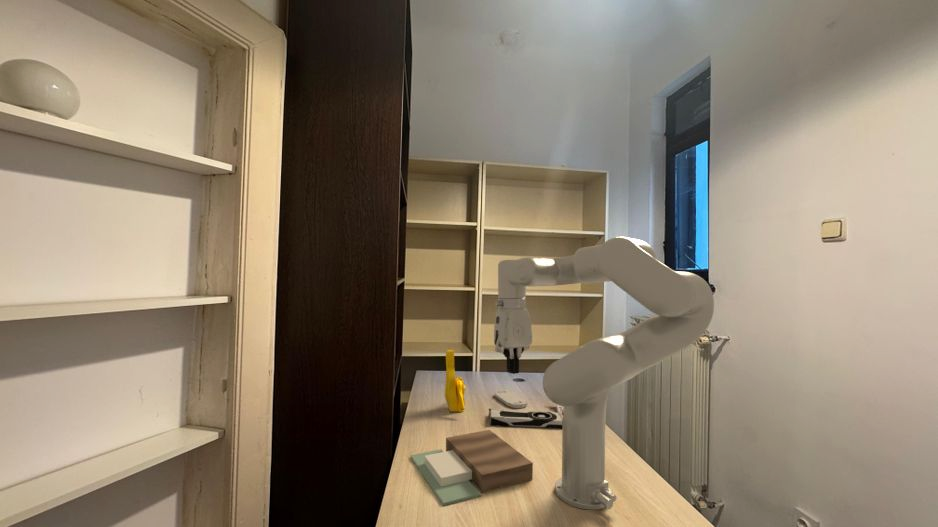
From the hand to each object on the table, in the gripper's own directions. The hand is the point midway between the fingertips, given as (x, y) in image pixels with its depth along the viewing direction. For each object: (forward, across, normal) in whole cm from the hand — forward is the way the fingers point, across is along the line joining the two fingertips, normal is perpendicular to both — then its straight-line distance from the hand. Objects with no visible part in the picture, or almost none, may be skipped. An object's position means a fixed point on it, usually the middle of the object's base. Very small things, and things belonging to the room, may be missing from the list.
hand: (512, 372), depth 104 cm
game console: (+23, +29, +42) cm, 56 cm away
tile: (+23, -18, +3) cm, 30 cm away
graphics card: (+24, +20, +21) cm, 38 cm away
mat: (+24, -20, +3) cm, 31 cm away
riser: (+24, -7, +2) cm, 25 cm away
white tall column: (+24, +37, +19) cm, 48 cm away
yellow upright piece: (+23, +4, +43) cm, 49 cm away
